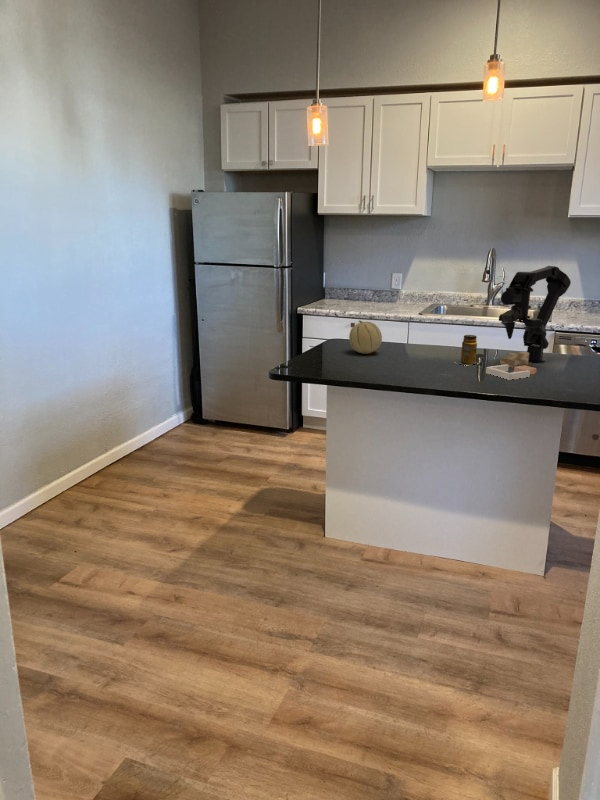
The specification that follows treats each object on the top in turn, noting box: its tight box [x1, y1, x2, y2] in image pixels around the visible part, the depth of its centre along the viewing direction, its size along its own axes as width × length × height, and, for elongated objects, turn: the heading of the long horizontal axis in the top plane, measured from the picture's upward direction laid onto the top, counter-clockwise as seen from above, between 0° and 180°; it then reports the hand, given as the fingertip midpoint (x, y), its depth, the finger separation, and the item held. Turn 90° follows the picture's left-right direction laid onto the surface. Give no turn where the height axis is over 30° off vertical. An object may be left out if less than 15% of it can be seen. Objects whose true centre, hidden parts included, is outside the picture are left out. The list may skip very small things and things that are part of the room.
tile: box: [513, 364, 537, 375], centre depth 243 cm, size 6×6×2 cm
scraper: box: [499, 351, 529, 369], centre depth 256 cm, size 11×7×5 cm, turn 117°
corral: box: [485, 364, 530, 381], centre depth 239 cm, size 11×12×2 cm
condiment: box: [453, 334, 480, 367], centre depth 257 cm, size 7×8×12 cm
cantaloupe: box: [348, 320, 383, 355], centre depth 276 cm, size 15×15×15 cm
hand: (517, 340), depth 254 cm, fingers open, 9 cm apart
